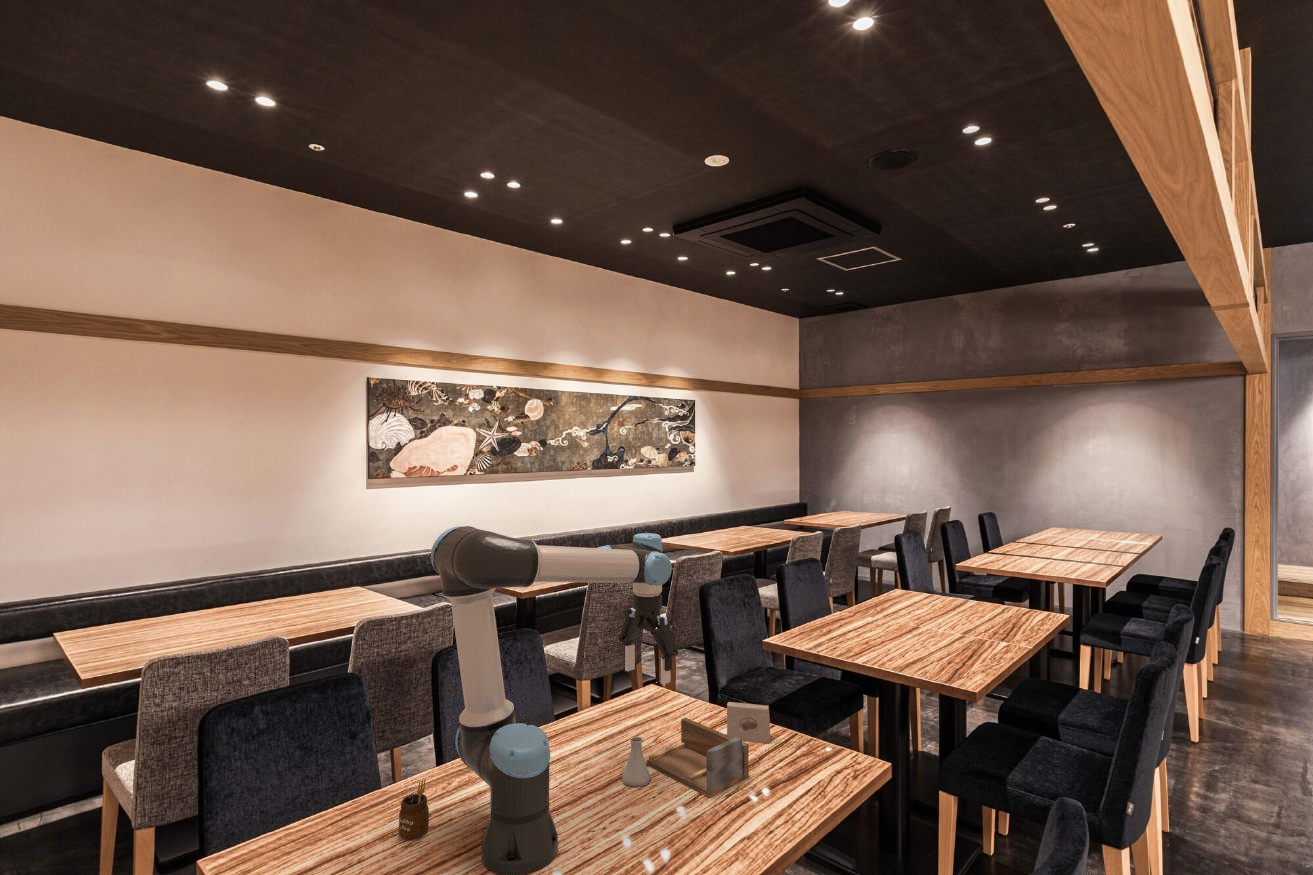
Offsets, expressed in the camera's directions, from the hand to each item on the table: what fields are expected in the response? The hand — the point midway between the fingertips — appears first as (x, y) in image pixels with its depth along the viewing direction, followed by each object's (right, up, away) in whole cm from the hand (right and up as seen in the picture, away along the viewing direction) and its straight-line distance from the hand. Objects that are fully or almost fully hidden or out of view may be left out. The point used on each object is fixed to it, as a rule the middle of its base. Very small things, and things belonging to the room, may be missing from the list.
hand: (647, 676), depth 169 cm
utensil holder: (-49, -22, -31) cm, 62 cm away
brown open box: (+13, -22, -5) cm, 26 cm away
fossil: (+28, -23, +14) cm, 39 cm away
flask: (-2, -22, -9) cm, 24 cm away
